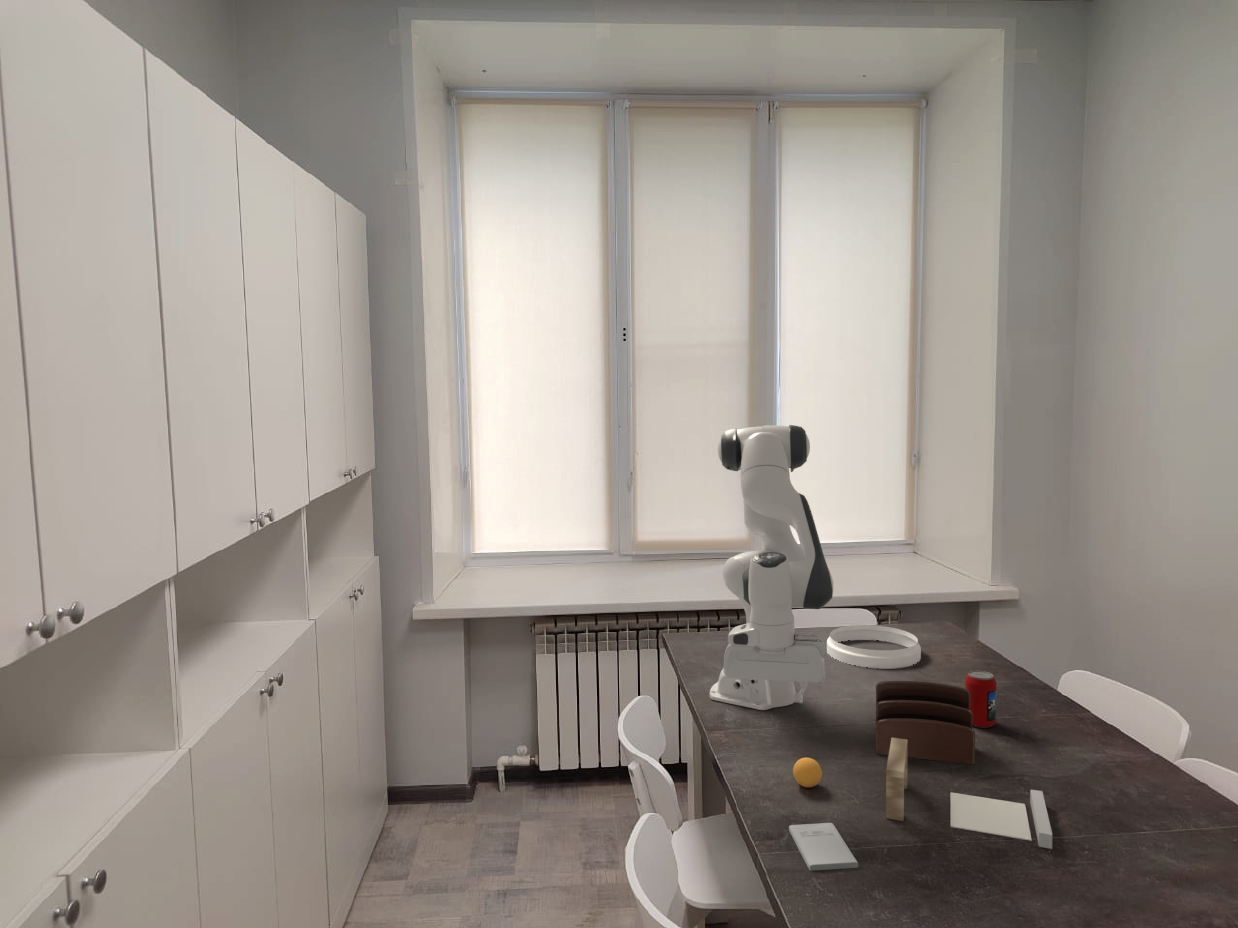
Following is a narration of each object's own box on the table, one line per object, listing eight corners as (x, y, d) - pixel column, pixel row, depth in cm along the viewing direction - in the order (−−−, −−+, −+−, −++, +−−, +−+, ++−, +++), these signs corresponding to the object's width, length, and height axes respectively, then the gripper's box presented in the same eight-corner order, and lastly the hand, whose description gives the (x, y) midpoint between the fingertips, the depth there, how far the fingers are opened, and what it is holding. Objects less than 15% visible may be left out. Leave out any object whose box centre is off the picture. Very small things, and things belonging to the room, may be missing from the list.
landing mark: (950, 826, 142) (950, 825, 142) (950, 793, 154) (950, 792, 154) (1031, 840, 137) (1031, 839, 137) (1024, 804, 149) (1025, 803, 149)
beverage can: (999, 730, 182) (1000, 679, 181) (968, 728, 184) (968, 678, 183) (991, 718, 189) (992, 669, 188) (961, 717, 190) (962, 668, 189)
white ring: (813, 659, 235) (813, 641, 235) (844, 636, 257) (844, 619, 257) (906, 676, 220) (906, 656, 219) (930, 649, 242) (930, 632, 241)
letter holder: (875, 736, 181) (875, 676, 180) (969, 746, 175) (970, 684, 174) (875, 755, 172) (876, 692, 171) (975, 766, 166) (976, 701, 165)
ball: (790, 789, 157) (790, 762, 157) (795, 777, 162) (795, 750, 162) (819, 794, 155) (819, 767, 154) (823, 781, 160) (823, 754, 160)
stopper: (1038, 846, 136) (1039, 832, 135) (1030, 801, 150) (1030, 789, 150) (1052, 848, 135) (1052, 834, 135) (1042, 803, 150) (1042, 791, 149)
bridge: (886, 817, 146) (886, 769, 145) (891, 781, 159) (891, 737, 159) (903, 820, 145) (903, 771, 144) (907, 784, 158) (907, 739, 157)
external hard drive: (809, 874, 130) (788, 832, 143) (858, 871, 131) (833, 830, 143) (809, 864, 130) (788, 824, 143) (858, 861, 131) (833, 821, 143)
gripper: (826, 631, 159) (829, 698, 160) (726, 627, 166) (729, 691, 167) (823, 640, 153) (826, 709, 154) (720, 636, 160) (723, 702, 161)
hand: (775, 700), depth 161 cm, fingers open, 8 cm apart
